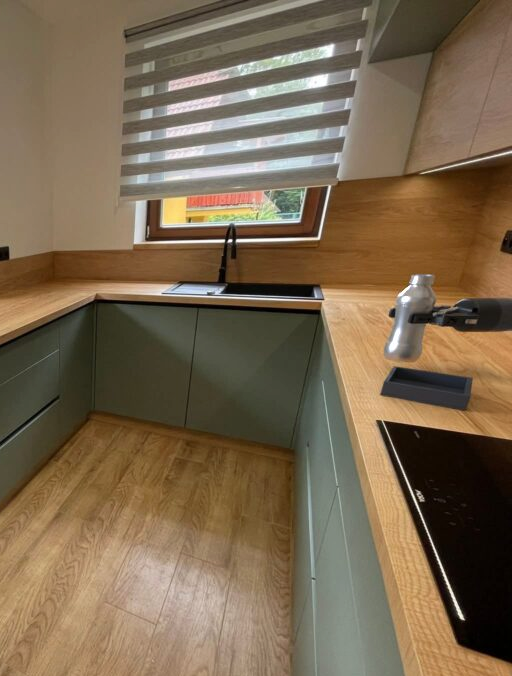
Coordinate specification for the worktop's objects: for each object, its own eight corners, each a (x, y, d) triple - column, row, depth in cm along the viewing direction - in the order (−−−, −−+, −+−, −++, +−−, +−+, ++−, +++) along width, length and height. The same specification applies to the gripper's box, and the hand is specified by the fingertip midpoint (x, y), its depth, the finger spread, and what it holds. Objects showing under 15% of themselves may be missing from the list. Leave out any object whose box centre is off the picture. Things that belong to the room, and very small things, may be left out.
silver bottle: (420, 367, 97) (448, 277, 90) (381, 363, 100) (405, 276, 93) (415, 359, 101) (441, 273, 95) (378, 356, 105) (400, 273, 98)
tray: (465, 410, 81) (470, 396, 80) (380, 394, 89) (383, 381, 88) (467, 391, 89) (472, 377, 88) (389, 378, 98) (393, 365, 97)
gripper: (511, 339, 89) (416, 339, 92) (456, 324, 102) (375, 325, 106) (524, 303, 86) (427, 304, 90) (466, 293, 100) (383, 294, 103)
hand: (399, 315), depth 98 cm, fingers closed on silver bottle, 6 cm apart
